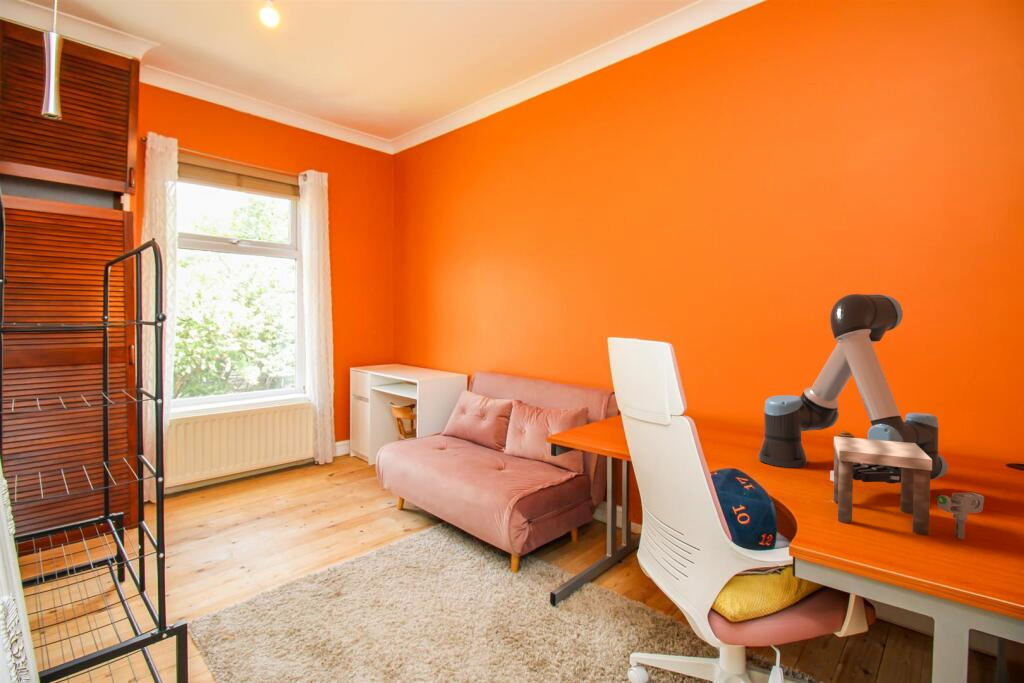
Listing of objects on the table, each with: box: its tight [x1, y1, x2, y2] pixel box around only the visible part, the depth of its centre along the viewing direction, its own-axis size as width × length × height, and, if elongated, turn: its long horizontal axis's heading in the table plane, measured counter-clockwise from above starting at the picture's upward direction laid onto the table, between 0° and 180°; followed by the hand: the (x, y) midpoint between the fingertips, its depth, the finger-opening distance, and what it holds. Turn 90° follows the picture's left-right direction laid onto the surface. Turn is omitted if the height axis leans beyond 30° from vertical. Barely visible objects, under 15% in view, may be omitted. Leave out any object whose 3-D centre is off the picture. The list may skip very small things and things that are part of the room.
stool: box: [833, 435, 932, 536], centre depth 128 cm, size 18×18×18 cm
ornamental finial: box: [833, 430, 856, 449], centre depth 192 cm, size 8×8×8 cm
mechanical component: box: [936, 492, 985, 540], centre depth 115 cm, size 3×10×10 cm, turn 95°
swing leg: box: [833, 447, 839, 503], centre depth 137 cm, size 10×3×15 cm, turn 63°
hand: (832, 476), depth 140 cm, fingers closed
